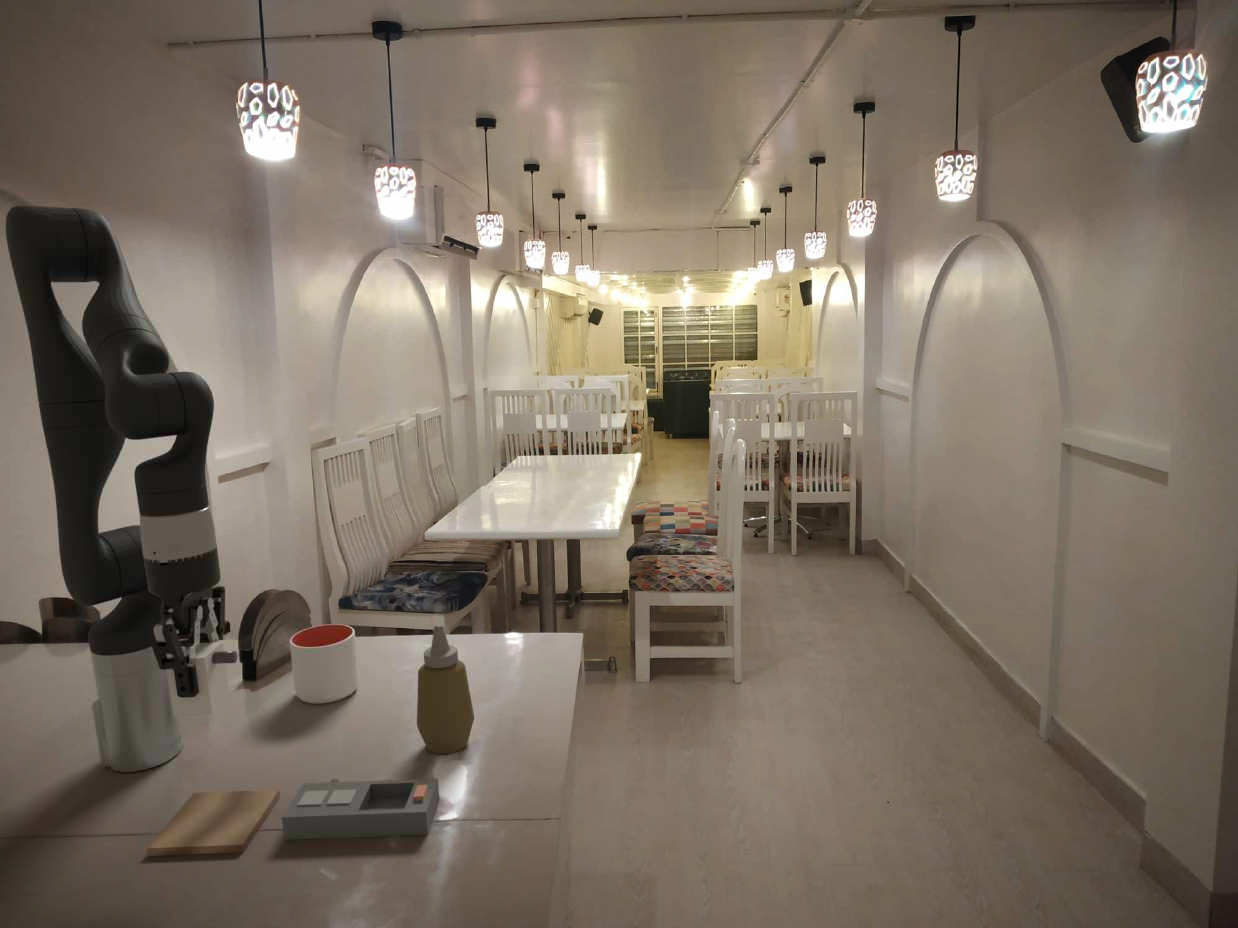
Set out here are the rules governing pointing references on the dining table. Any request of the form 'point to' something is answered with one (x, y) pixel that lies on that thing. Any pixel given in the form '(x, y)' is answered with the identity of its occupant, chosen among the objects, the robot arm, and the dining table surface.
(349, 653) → the cup
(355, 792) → the power strip
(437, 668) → the squeeze bottle
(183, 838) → the walnut board
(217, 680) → the block
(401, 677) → the dining table surface
